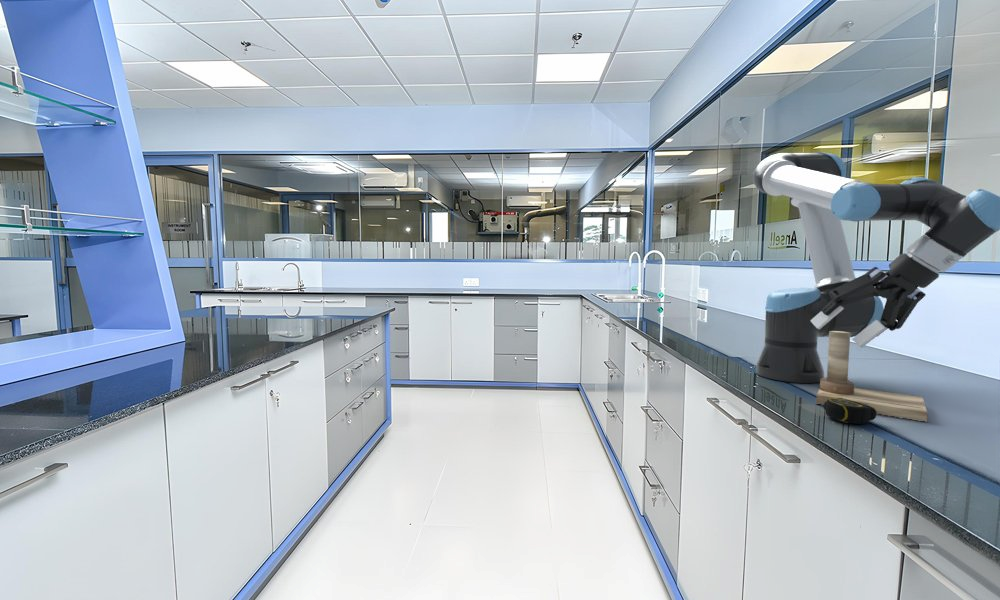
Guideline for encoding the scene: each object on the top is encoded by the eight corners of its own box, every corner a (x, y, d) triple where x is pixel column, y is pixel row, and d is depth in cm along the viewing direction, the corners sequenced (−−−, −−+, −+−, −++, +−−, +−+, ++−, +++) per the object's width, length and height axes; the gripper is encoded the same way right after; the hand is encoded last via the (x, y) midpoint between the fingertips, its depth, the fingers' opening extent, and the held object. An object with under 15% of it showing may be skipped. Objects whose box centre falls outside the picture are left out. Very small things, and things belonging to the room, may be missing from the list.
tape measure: (878, 425, 82) (879, 405, 82) (852, 429, 80) (853, 409, 80) (840, 413, 89) (841, 395, 88) (815, 417, 86) (816, 398, 86)
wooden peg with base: (821, 385, 101) (823, 329, 100) (854, 389, 97) (857, 331, 96) (818, 392, 96) (821, 333, 95) (853, 397, 92) (856, 336, 91)
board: (821, 391, 103) (821, 383, 103) (921, 406, 92) (922, 397, 92) (816, 404, 94) (816, 395, 93) (926, 422, 83) (927, 412, 82)
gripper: (894, 249, 83) (806, 327, 94) (977, 293, 89) (884, 361, 101) (867, 231, 89) (787, 306, 101) (946, 273, 96) (862, 340, 107)
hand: (836, 334), depth 101 cm, fingers open, 13 cm apart
